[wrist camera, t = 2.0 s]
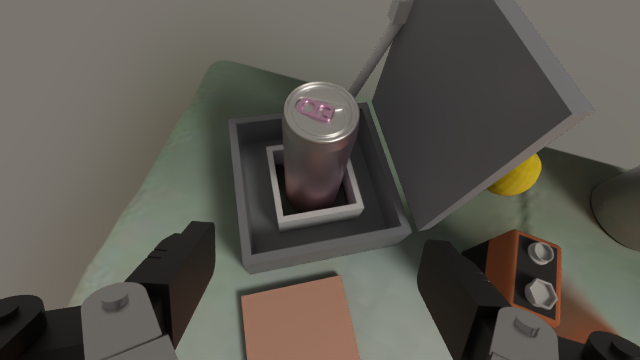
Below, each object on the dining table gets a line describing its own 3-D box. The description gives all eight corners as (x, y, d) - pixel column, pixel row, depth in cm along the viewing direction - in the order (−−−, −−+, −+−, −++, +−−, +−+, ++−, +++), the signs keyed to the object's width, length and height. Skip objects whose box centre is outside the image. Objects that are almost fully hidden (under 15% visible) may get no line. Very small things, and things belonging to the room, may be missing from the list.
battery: (449, 311, 31) (512, 305, 22) (460, 250, 34) (520, 223, 25) (491, 328, 31) (573, 330, 22) (498, 265, 34) (573, 243, 25)
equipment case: (371, 124, 40) (451, -86, 20) (411, 242, 34) (595, 110, 13) (235, 142, 38) (164, -82, 17) (250, 274, 31) (163, 172, 10)
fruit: (515, 205, 37) (569, 176, 30) (472, 205, 36) (516, 176, 29) (502, 165, 39) (549, 129, 32) (461, 165, 39) (500, 128, 32)
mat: (339, 276, 32) (340, 275, 31) (365, 388, 28) (367, 390, 27) (242, 297, 30) (241, 296, 29) (254, 419, 26) (253, 421, 25)
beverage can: (296, 162, 37) (298, 69, 24) (342, 178, 37) (371, 92, 23) (277, 205, 34) (268, 128, 21) (327, 222, 34) (349, 155, 21)
